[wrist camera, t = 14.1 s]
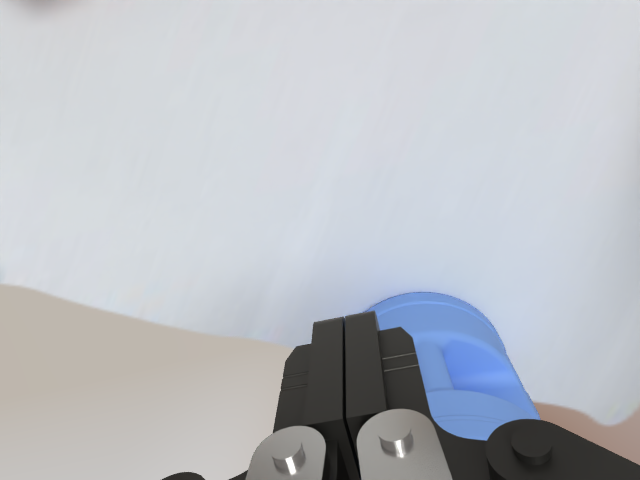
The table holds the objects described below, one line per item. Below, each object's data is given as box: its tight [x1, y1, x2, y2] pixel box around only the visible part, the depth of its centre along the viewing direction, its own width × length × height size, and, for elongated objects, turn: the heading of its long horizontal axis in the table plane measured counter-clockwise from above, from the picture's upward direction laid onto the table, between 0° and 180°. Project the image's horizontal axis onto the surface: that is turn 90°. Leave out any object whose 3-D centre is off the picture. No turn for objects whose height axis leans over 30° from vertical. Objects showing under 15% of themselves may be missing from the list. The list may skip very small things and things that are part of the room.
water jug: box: [366, 292, 540, 441], centre depth 36 cm, size 16×16×28 cm
